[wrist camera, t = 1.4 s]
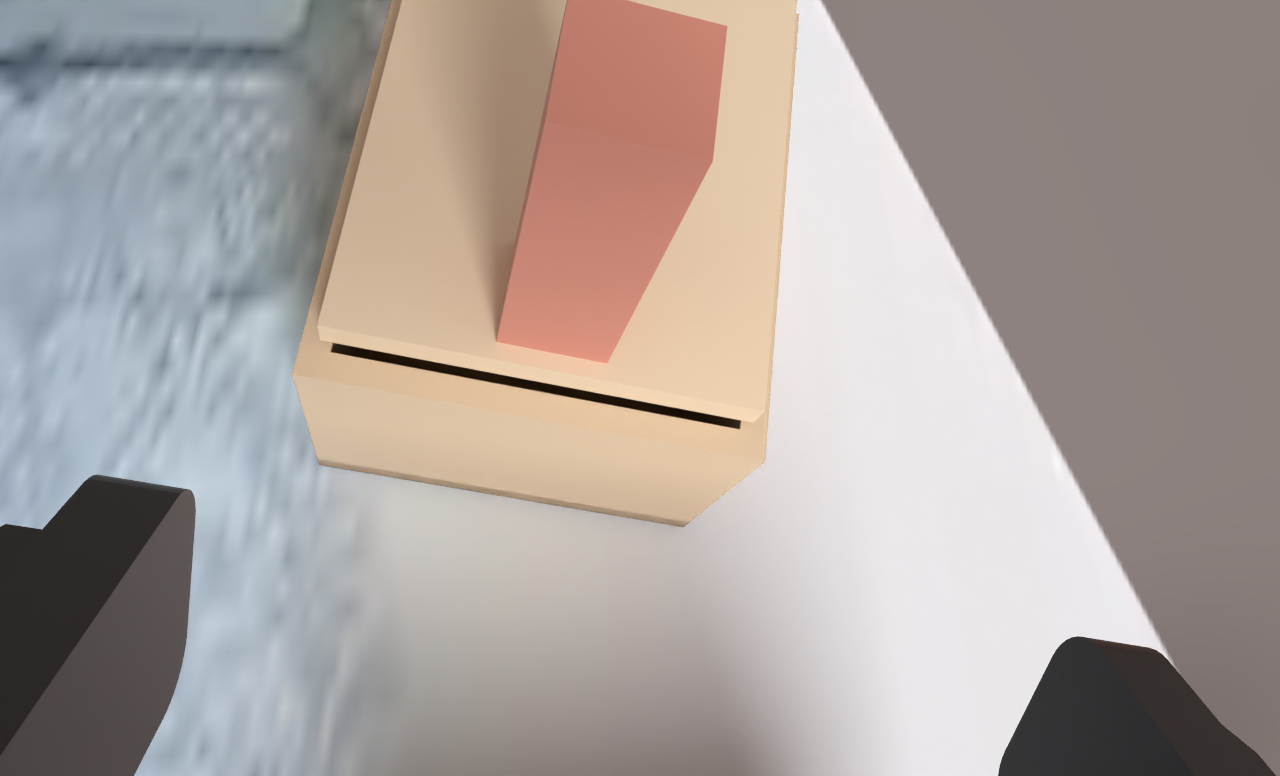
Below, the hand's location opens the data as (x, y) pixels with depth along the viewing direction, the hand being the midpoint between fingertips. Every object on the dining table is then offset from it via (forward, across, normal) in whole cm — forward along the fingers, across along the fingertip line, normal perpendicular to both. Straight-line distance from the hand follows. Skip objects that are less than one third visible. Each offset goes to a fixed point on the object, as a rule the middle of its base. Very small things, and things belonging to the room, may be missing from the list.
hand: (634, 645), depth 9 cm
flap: (+23, 0, 0) cm, 23 cm away
